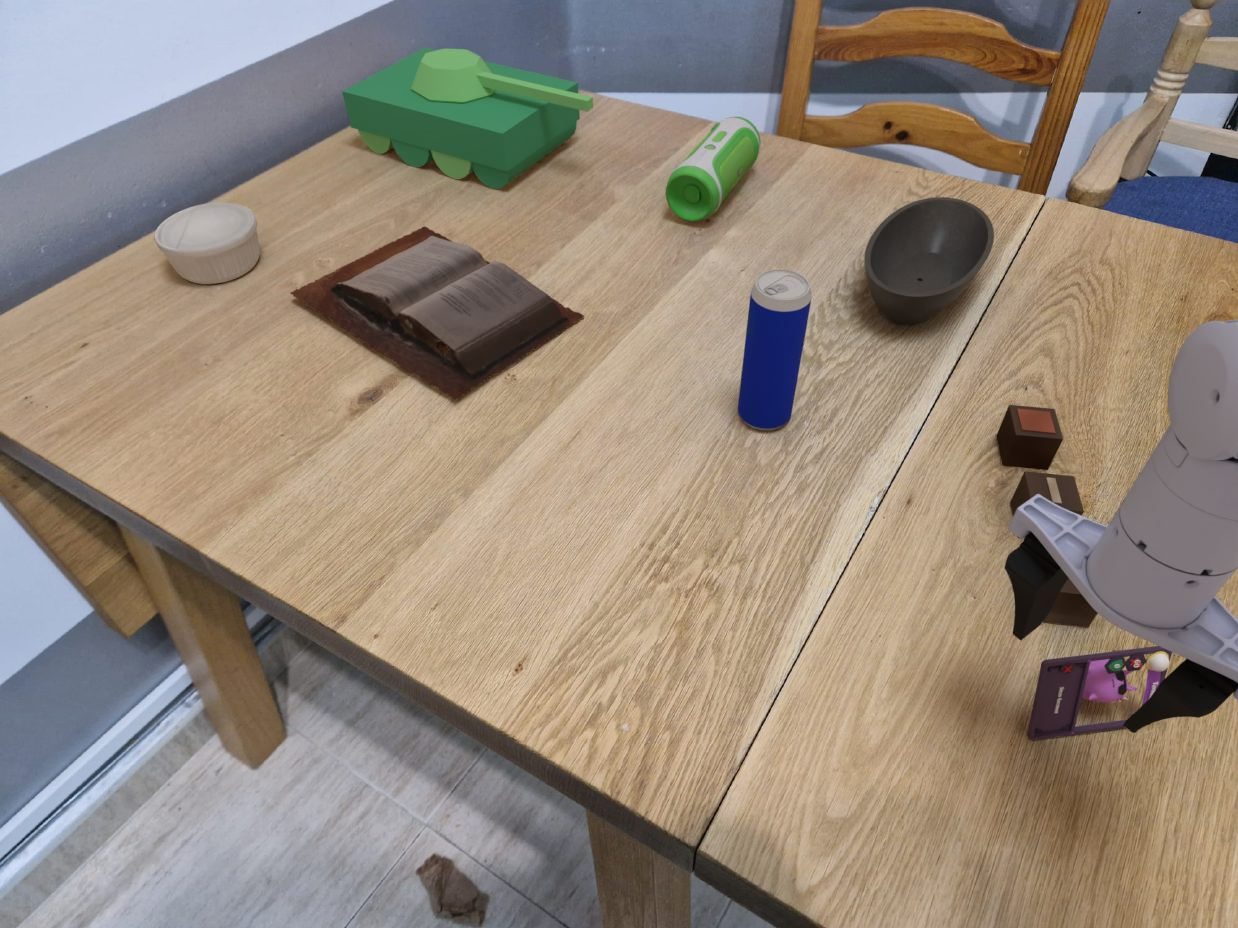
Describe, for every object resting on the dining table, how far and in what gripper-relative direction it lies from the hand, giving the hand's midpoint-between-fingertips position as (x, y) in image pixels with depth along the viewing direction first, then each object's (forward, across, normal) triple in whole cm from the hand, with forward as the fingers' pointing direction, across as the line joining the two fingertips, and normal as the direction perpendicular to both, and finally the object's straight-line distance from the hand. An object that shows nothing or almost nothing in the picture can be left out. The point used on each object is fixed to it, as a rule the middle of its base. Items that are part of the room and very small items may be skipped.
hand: (1079, 672), depth 52 cm
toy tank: (+11, +101, -14) cm, 102 cm away
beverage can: (+10, +36, -8) cm, 38 cm away
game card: (+10, 0, -6) cm, 12 cm away
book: (+10, +71, +9) cm, 72 cm away
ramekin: (+10, +95, +26) cm, 99 cm away
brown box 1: (+10, +18, -24) cm, 32 cm away
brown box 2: (+10, +12, -18) cm, 24 cm away
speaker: (+11, +72, -32) cm, 80 cm away
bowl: (+10, +41, -36) cm, 56 cm away
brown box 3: (+10, +6, -12) cm, 17 cm away
